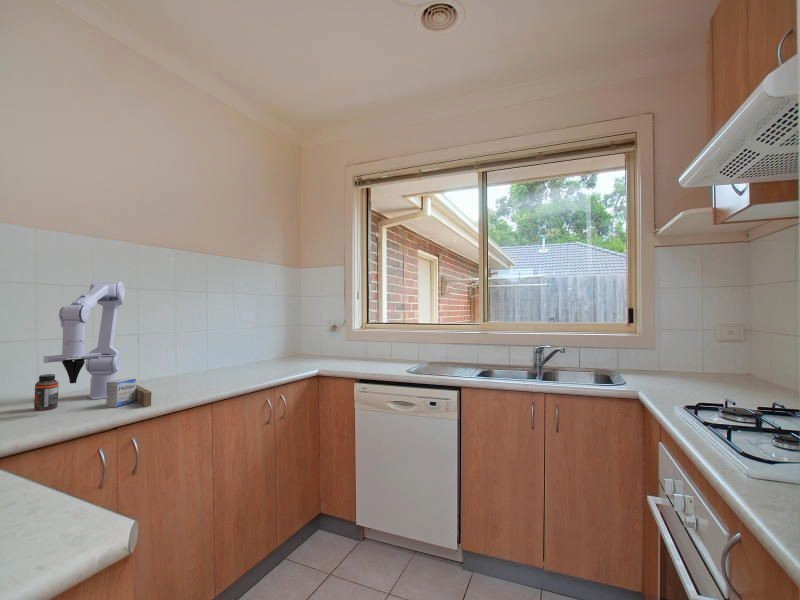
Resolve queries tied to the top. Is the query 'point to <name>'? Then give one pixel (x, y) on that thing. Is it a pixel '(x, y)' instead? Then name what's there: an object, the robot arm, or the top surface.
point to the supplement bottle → (46, 393)
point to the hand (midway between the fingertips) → (72, 382)
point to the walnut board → (143, 396)
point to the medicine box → (121, 392)
